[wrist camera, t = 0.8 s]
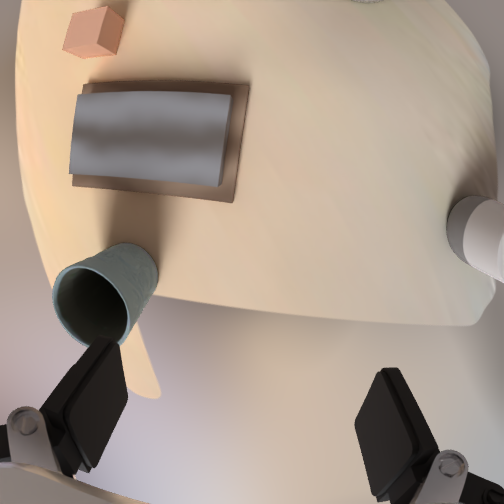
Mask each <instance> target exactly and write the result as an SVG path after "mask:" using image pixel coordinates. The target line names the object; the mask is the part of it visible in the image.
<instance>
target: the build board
mask: <svg viewBox="0 0 504 504" xmlns="http://www.w3.org/2000/svg"><path fill="white" fill-rule="evenodd" d="M248 93H249V86H248V85H238V84H228V83H215V82H200V81H169V80H149V81H119V82H104V83H92V84H83V90H82V94H79V95H78V96H77V103H76V109H75V116H74V124H73V132H72V142H71V153H70V166H69V174H73V180H72V186H76V187H88V188H101V189H112V190H123V191H133V192H143V193H153V194H162V195H171V196H179V197H188V198H196V199H204V200H212V201H219V202H227V203H233V198H234V190H235V183H236V175H237V168H238V161H239V154H240V147H241V140H242V133H243V126H244V119H245V113H246V106H247V100H248Z"/></svg>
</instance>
